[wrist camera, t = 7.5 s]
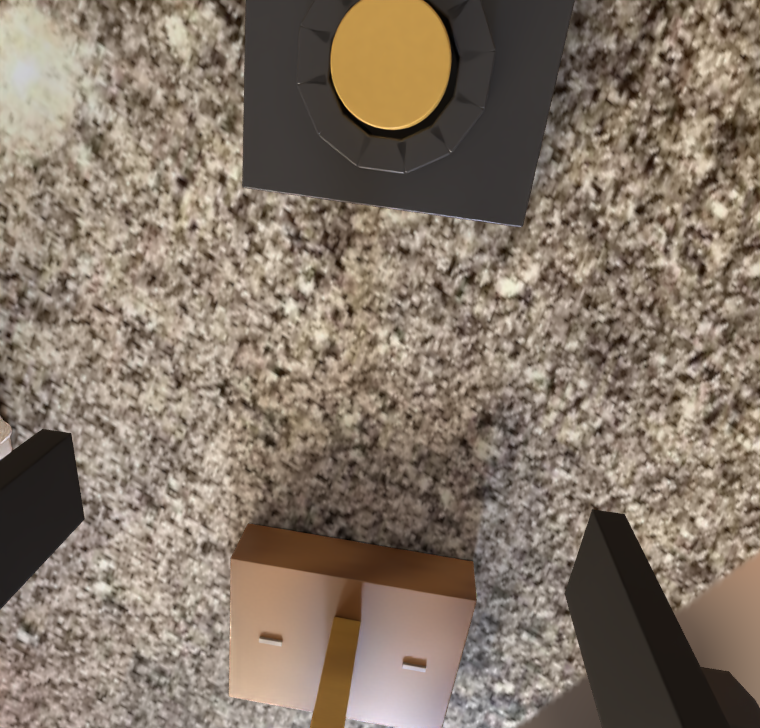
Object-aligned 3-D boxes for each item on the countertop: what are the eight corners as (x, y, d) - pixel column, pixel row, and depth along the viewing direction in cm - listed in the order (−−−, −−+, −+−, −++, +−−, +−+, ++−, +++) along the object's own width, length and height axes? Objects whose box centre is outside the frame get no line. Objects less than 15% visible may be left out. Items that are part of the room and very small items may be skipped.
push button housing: (575, -48, 20) (606, -91, 16) (515, 220, 24) (529, 234, 20) (265, -86, 20) (228, -135, 17) (257, 183, 24) (226, 191, 21)
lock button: (459, 10, 18) (461, -3, 16) (440, 136, 20) (440, 136, 18) (344, -4, 18) (335, -18, 17) (334, 122, 20) (325, 120, 18)
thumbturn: (334, 616, 31) (300, 771, 23) (361, 620, 30) (336, 778, 23) (324, 684, 33) (290, 845, 25) (349, 688, 33) (323, 852, 25)
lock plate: (473, 561, 32) (477, 603, 29) (439, 691, 37) (440, 738, 34) (247, 522, 32) (229, 560, 30) (243, 655, 37) (227, 699, 34)
